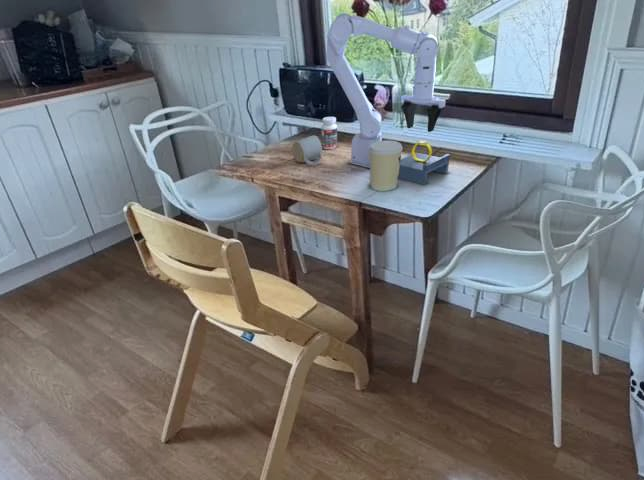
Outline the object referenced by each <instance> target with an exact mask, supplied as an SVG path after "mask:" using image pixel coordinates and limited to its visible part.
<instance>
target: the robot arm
mask: <svg viewBox="0 0 644 480" xmlns="http://www.w3.org/2000/svg"><path fill="white" fill-rule="evenodd" d="M363 35H366V36H369V37H373V38H376V39H379V40H383V41H387V42H389V43H390V45H391V47H392V49H395V50H398V51H401V52H403V53H407V54H409V55H413V56H414V55H417V57H416V64H415V69H414V84H413V94H403V95H400V96H401V97H400V103H401V104H402V105H401V106H400V109H401V110H402V113H403V114H404V115H403V116H404V117H405V122H406V128H407V129H411V128H413V127H414V125H415V124H414V123H415V114H416V109H417V107H418V105H422V106H429V107H428V108H426V112H427V132H428V133H431V132H434V130H435V128H436V127H435V126H436V124H437V121H438V119H439V117H440V116H441V113H442V112H443V110H444V107H446V99H444V98H441V97H437V96H434V90H435V78H436V70H437V64H436V62H437V55H438V53H439V50H440V48H439V43H438V39H437V37H436V36H435V35H433V34H431V33H430V32H427V33H426V31H425V30H421V31H418V30H416V29H412V28H410V25H409V24H405V25H404V26H403V25H400V26H398V27H396V28H392V27H390V26H387V25H384V24H382V23H379V22H376V21H374V20H371V19H369V18H366V17H362V16H359V15H355V14H351V15H350V14H349V13H345V12H344V13H340V14H338V15H337V16H336V17H335V18H334V20H333V21H332V22H331V24H330V26H329V29H328V31H327V34H326V38H327V43H326V59H327V62H328V63H329V64H328V65H329V66H330V68H331V69H332V71H333V74H334V75H335V77H336V79H337V80H338V83H339V84H340V86H341V88H342V91H344V93H345V95H346V97H347V100H348V101H349V103H350V104H351V106H352V108H353V110H354V112H355V116H356V119H357V121H358V124H359V131H360V132H359V133H356V134H354V136H353V137H352V140H351V146H350V147H351V148H350V149H351V150H350V161H349V164H352V165H355V166H359V167H364V168H366V169H367V168H368V169H370V151H369V148H370V145H371V144H373V143H375V142H378V141H383V132H382V131H381V128H382V121H383V116H382V115H381V112H379V111H378V110H377V109H375V108H374V106H373V104H372V103H371V102H370V101H369V99H368V97H367V96H366V93H365V92H364V90H363V88H362V86H361V84H360V82H359V80H358V78H357V76H356V74H355V72H354V71H353V69H352V67H351V64H350V63H349V61H348V59H347V57H346V55H345V52H346V47H347V44H348V41H349V39H350V37H351V36H352V37H353V38H358V37H360V36H363Z"/></svg>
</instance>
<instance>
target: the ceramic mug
mask: <svg viewBox="0 0 644 480" xmlns="http://www.w3.org/2000/svg"><path fill="white" fill-rule="evenodd" d="M291 149H292V155H293V158H294V160H295V161H296V163H297V162H298V163H301V164H302V163H306V164H307V165H309V166H312V167H315V166H318V165H320V164H321V163H322V154H323V148H322V146H321V139H319V137H318V136H317V135H314V134H313V135H309V136H307V137H305V138H302V139H298V140H296V141H295V142H294V143H293V144H292V148H291ZM318 159H319V160H318ZM313 160H317V161H313Z"/></svg>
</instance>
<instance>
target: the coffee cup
mask: <svg viewBox="0 0 644 480" xmlns="http://www.w3.org/2000/svg"><path fill="white" fill-rule="evenodd" d="M369 151H370V168H369V181H370V183H369V184H370V188H371V189H373V190H374V191H379V192H380V191H381V192H385V191H392V190H394V189H396V188H397V186H398V180H399V178H398V173H399V167H400V160H401V159H402V151H403V145H402V143H401V142H399V141H395V140H382V141H378V142H375V143H373V144H371V145H370V148H369Z"/></svg>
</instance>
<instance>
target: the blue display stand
mask: <svg viewBox="0 0 644 480" xmlns="http://www.w3.org/2000/svg"><path fill="white" fill-rule="evenodd" d="M415 155H416V157H417V158H418V159H422V160H426V159H427V158H428V156H429V154H427V153H422V152H415ZM450 158H451V154H449V153H446V154H444V155H441V156H440V157H439V156H435V155H431V157H430V159H429V160H427V161H426V162H420V161H415V160H414V158H413V157H412V154H409V155H407V156H405V157H403V158H401V160H400V167H399V173H398V179H402V180H406V181H410V182H414V183H418V184H421V185H426V184H427V183H428V174H429V173H431V172H437V173H441V174H447V173H449V165H450V160H451V159H450Z"/></svg>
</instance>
